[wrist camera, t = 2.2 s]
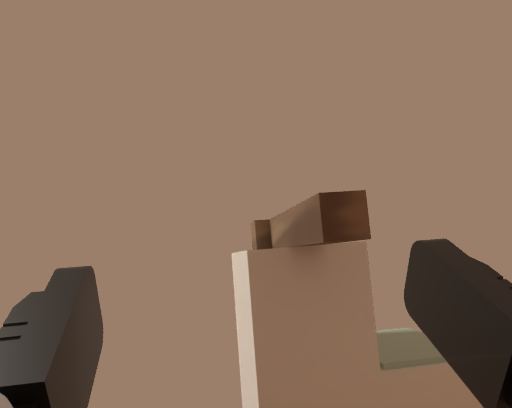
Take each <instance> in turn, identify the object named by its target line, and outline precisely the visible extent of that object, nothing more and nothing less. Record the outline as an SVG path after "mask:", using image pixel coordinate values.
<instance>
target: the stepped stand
mask: <svg viewBox="0 0 512 408" xmlns="http://www.w3.org/2000/svg"><path fill="white" fill-rule="evenodd" d="M232 265H233V280H234V294H235V308H236V322H237V336H238V350H239V364H240V378H241V391H242V406H243V408H484V407H483V406H482V405H481V404H480V402H479V401H478V400H477V399H476V397H475V396H474V395H473V394H472V392H471V391H470V390H469V389H468V388H467V386H466V385H465V384H464V383H463V381H462V380H461V379H460V378H459V376H458V375H457V374H456V373H455V371H454V370H453V369H452V368H451V366H450V365H449V364H448V363H447V361H446V360H445V359H444V358H443V356H442V355H441V354H440V353H439V351H438V350H437V349H436V348H435V346H434V345H433V344H432V343H431V341H430V340H429V339H428V338H427V336H426V335H425V334H424V333H423V332H420V331H417V330H413V329H410V328H399V329H389V330H382V331H381V330H380V331H376V326H375V316H374V307H373V298H372V289H371V280H370V271H369V261H368V252H367V243H366V241H363V242H350V243H337V244H324V245H311V246H299V247H286V248H273V249H260V250H247V251H242V252H236V253H232Z"/></svg>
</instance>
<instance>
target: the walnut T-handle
mask: <svg viewBox="0 0 512 408" xmlns="http://www.w3.org/2000/svg"><path fill="white" fill-rule="evenodd" d="M251 233H252V246H253V250H260V249H273V248H286V247H299V246H311V245H324V244H333V243H341V242H349V241H357V240H366V239H371V235H370V226H369V217H368V208H367V199H366V191H365V190H361V191H344V192H328V193H318V194H316V195H314V196H312V197H310V198H308V199H307V200H305V201H303V202H301V203H299V204H297V205H296V206H294V207H292V208H290V209H288V210H286V211H285V212H283V213H281V214H279V215H277V216H275V217H273V218H271V219H270V220H258V221H257V220H256V221H253V222H252V223H251Z"/></svg>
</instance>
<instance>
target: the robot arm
mask: <svg viewBox="0 0 512 408" xmlns="http://www.w3.org/2000/svg"><path fill="white" fill-rule="evenodd" d="M404 301H405V306H406V309H407V311H408V313H409V315H410V316H411V318H412V319H413V320H414V321H415V323H416V324H417V325H418V326H419V328H420V329H421V330H422V331H423V333H424V334H425V335H426V336H427V338H428V339H429V340H430V341H431V343H432V344H433V345H434V346H435V348H436V349H437V350H438V351H439V353H440V354H441V355H442V356H443V358H444V359H445V360H446V361H447V363H448V364H449V365H450V366H451V368H452V369H453V370H454V371H455V373H456V374H457V375H458V376H459V378H460V379H461V380H462V381H463V383H464V384H465V385H466V386H467V388H468V389H469V390H470V391H471V392H472V394H473V395H474V396H475V397H476V399H477V400H478V401H479V402H480V404H481V405H482V406H483V407H484V408H512V283H510V282H509V281H508V280H506V279H503V277H502V276H501V275H500V274H499V273H497V272H496V271H495V270H493V269H492V268H491V267H489V266H488V265H486V264H484V263H482V262H480V261H478V260H476V259H474V258H471V257H469V256H468V255H467V254H465V253H464V252H462V250H460V249H459V248H458V247H456V246H455V245H454V244H453V243H451V242H450V241H449V240H447V239H435V240H420V241H416V242H415V243H414V244H413V245H412V248H411V252H410V258H409V265H408V271H407V277H406V283H405V289H404ZM102 343H103V322H102V315H101V309H100V304H99V298H98V291H97V286H96V279H95V274H94V270H93V268H92V267H91V266H83V267H71V268H58V269H56V270H55V271H54V274H53V275H52V277H51V279H50V281H49V283H48V285H47V287H46V289H45V291H43V292H42V291H41V292H31V293H30V294H29V295H28V296H26V298H24V299H23V300H22V301H21V302H19V303H18V304H17V305H15V306H14V307H13V308H12V310H11V312H10V314H9V315H8V317H7V319H6V320H5V322H4V323H3V327H2V328H1V329H0V408H87V407H88V403H89V399H90V394H91V390H92V386H93V382H94V378H95V374H96V369H97V365H98V361H99V357H100V353H101V349H102Z"/></svg>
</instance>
